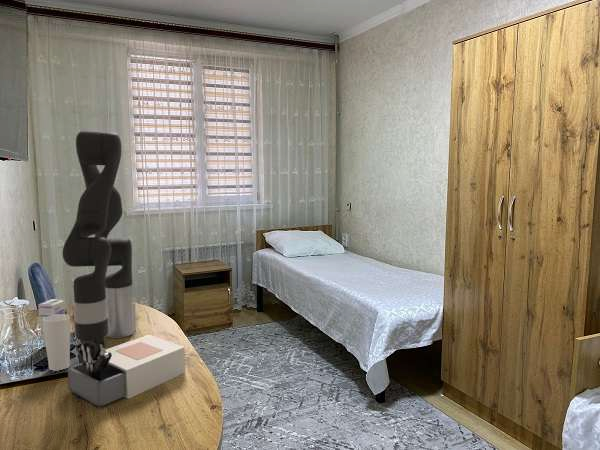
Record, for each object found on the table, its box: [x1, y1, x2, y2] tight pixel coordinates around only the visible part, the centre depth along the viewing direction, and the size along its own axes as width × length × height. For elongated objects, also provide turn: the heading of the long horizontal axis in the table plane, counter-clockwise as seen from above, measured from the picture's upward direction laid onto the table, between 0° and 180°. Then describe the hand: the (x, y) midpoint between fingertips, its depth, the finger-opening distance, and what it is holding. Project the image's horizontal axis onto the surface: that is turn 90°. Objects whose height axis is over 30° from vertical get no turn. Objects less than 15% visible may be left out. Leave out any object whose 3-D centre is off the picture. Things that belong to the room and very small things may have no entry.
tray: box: [66, 362, 127, 408], centre depth 118 cm, size 18×14×6 cm
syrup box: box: [37, 298, 68, 347], centre depth 145 cm, size 6×6×14 cm
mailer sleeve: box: [105, 334, 186, 399], centre depth 124 cm, size 18×16×8 cm
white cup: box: [43, 313, 71, 372], centre depth 129 cm, size 7×7×15 cm
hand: (95, 384), depth 114 cm, fingers closed
